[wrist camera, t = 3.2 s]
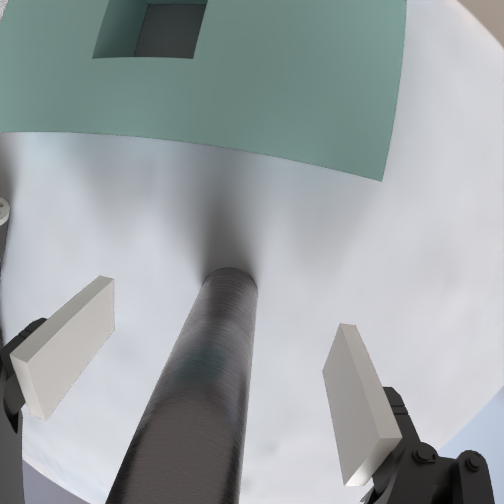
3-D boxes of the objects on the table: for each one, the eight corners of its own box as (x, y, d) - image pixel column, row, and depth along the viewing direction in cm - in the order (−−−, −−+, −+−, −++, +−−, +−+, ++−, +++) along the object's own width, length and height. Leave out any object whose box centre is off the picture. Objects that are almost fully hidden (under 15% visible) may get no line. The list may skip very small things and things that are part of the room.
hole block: (19, 131, 15) (-25, 133, 11) (59, -20, 11) (26, -41, 7) (354, 174, 15) (381, 181, 11) (381, -9, 11) (407, -42, 8)
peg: (199, 312, 18) (105, 555, 4) (206, 262, 17) (76, 520, 3) (252, 322, 18) (223, 583, 4) (262, 273, 17) (242, 563, 3)
